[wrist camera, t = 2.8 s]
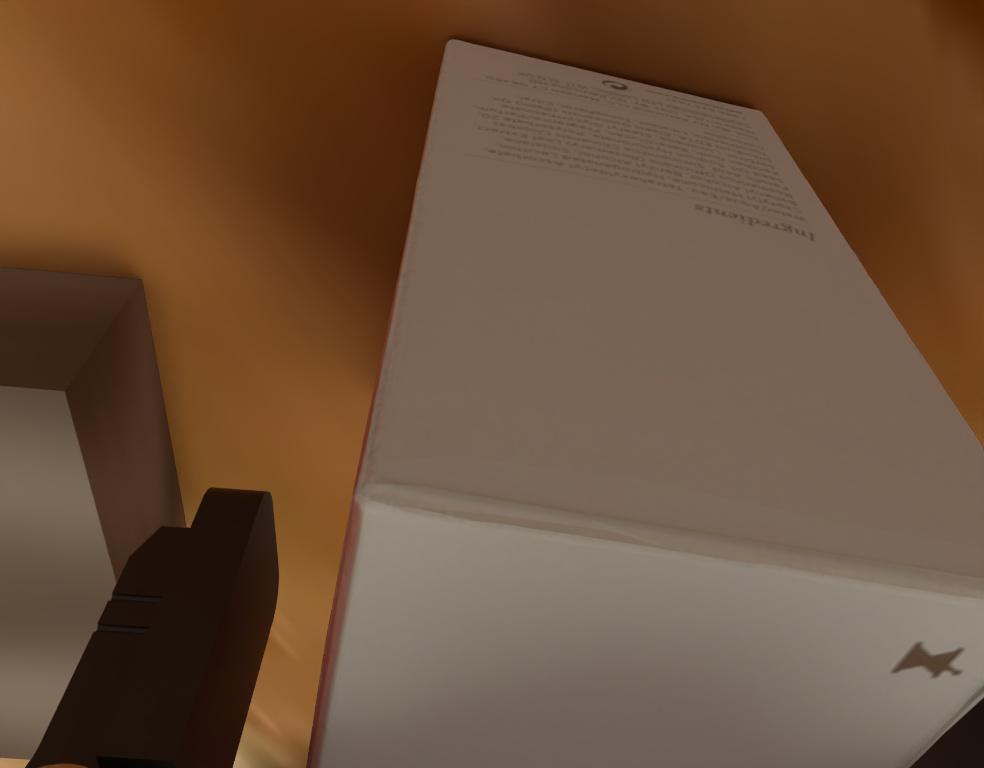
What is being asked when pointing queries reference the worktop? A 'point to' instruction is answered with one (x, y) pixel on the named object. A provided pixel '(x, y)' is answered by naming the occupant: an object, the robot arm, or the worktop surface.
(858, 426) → the small box
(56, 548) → the metal block
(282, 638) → the worktop surface
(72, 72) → the worktop surface
